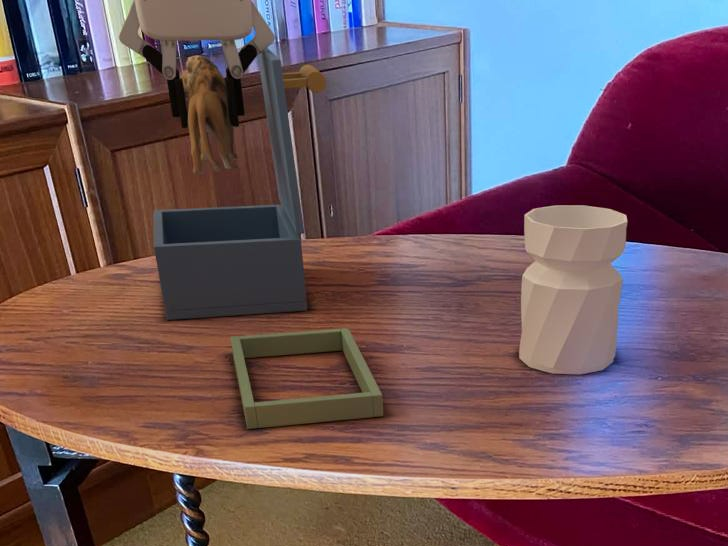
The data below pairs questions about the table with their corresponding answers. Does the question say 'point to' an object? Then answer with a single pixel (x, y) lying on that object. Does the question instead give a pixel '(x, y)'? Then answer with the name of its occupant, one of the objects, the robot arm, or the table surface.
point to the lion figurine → (207, 113)
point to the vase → (571, 288)
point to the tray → (312, 407)
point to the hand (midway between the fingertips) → (209, 123)
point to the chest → (228, 261)
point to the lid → (285, 126)
